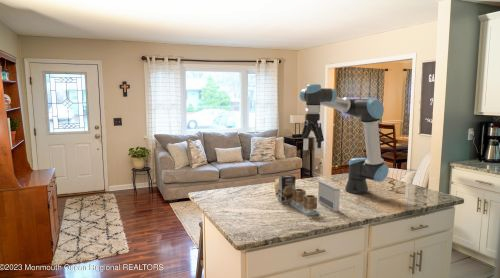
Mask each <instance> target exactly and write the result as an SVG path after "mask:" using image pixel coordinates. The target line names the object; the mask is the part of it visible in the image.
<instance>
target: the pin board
mask: <svg viewBox="0 0 500 278" xmlns="http://www.w3.org/2000/svg"><path fill="white" fill-rule="evenodd" d="M289 203H290V205H291V206H292V207H293V208H295V209H296V210H298V211H299V212H300V213H302V214H303V215H305V216H306V217H307V216H315V214H316V215H319V214H320V211H319V209H317V211H315V212H307V211H305V210H304V209H303V204H302V205H296V204H295V203H293V202H289Z"/></svg>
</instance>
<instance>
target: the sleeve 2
mask: <svg viewBox="0 0 500 278" xmlns="http://www.w3.org/2000/svg"><path fill="white" fill-rule="evenodd" d="M303 209H304V210H305V211H307V212H315V211H317V210H318V196H316V195H313V194H306V195H303Z"/></svg>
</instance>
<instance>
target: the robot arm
mask: <svg viewBox="0 0 500 278" xmlns="http://www.w3.org/2000/svg"><path fill="white" fill-rule="evenodd" d="M299 98H300V100H301V101H302V102H305V103H306V104H305V112H306V113H305V121H304V123H303V125H304V126H303V128H302V132H301V138H302V139H303V143H302V144H303V146H302V147H303V148H302V150H303V151H309V136H310V134H311V132H313V135H314V137H315V155H322V153H321V152H322V142H324V141H325V138H324V134H323V129H322V123H321V122H318V121H320V120H321V119H320V118H321V114H320V113H321V106H324V107H328V108H330V109H334V110H337V111H339V112H340V113H342V114H345V115H349V116H350V117H351V116H352V117H356V118H359V119H360V123H361V124H363V133H364V142H365V153H366V157H354V158H353V157H352V158H350V159H349V162H348V177H347V181H346V185H345V188H344V190H345V191H346V192H347V193H350V194H355V195H364V194H365V195H366V194H368V192H369V186H368V184H367V180H370V181H374V182H379V183H381V182H384V181H385V180H386V179H387V177H388V175H389V166H388V164H385V160H384V158H382V156H381V155H382V154H381V153H382V152H381V143H380V133H379V132H380V131H379V129H380V128H379V122H380V120H381V118H382V117H383V116H384V113H385V111H384V109H385V107H384V105H383V102H382V101H380V100H379V99H376V98H375V99H374V98H347V97H344V98H342V97H339V96H338V92H337V91H336V89H334V88H331V87H330V88H329V87H328V88H327V87H326V88H324V87H323V88H322V86H321V84H318V83H317V84H316V83H315V84H307V85H306V88H303V89H302V90H301V91H300V92H299Z"/></svg>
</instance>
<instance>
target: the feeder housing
mask: <svg viewBox="0 0 500 278" xmlns="http://www.w3.org/2000/svg"><path fill="white" fill-rule="evenodd" d="M317 191H318V194H317V203H319V204H321V205H322V204H323V205H322V206H325V207H326V208H327V209H329V208H330V210H331V211H333V212H334V211H335V212H339V211H340V198H341V197H340V196H341V195H340V193H341V188H339V187H337V186H336V185H333V184H331V183H329V182H327V181H324V180H319V181H318V190H317Z"/></svg>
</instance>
